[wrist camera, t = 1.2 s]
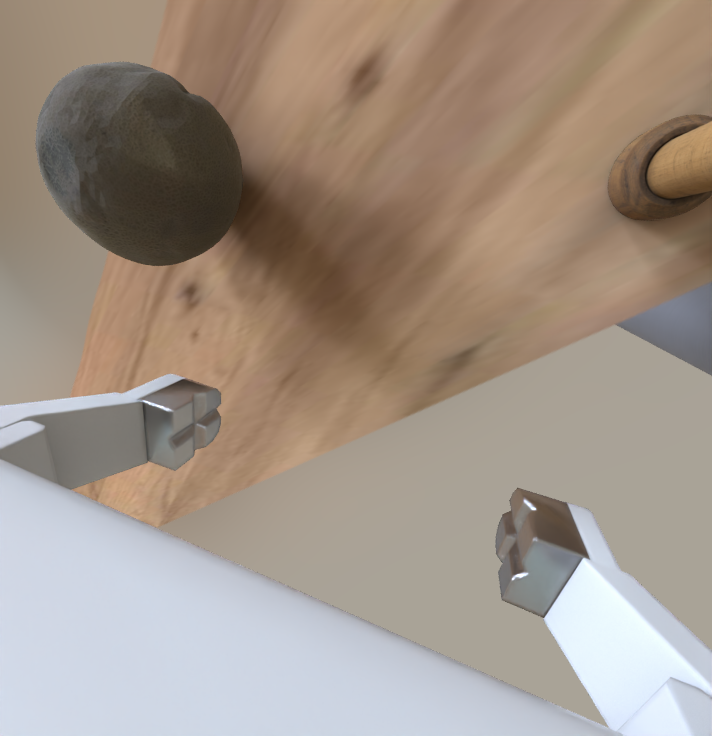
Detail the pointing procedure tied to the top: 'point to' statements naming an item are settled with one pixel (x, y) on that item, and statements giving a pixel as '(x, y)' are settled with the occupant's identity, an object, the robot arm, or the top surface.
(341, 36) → the top surface
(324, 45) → the top surface
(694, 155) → the mortar and pestle
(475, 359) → the top surface
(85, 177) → the cantaloupe
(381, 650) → the robot arm
